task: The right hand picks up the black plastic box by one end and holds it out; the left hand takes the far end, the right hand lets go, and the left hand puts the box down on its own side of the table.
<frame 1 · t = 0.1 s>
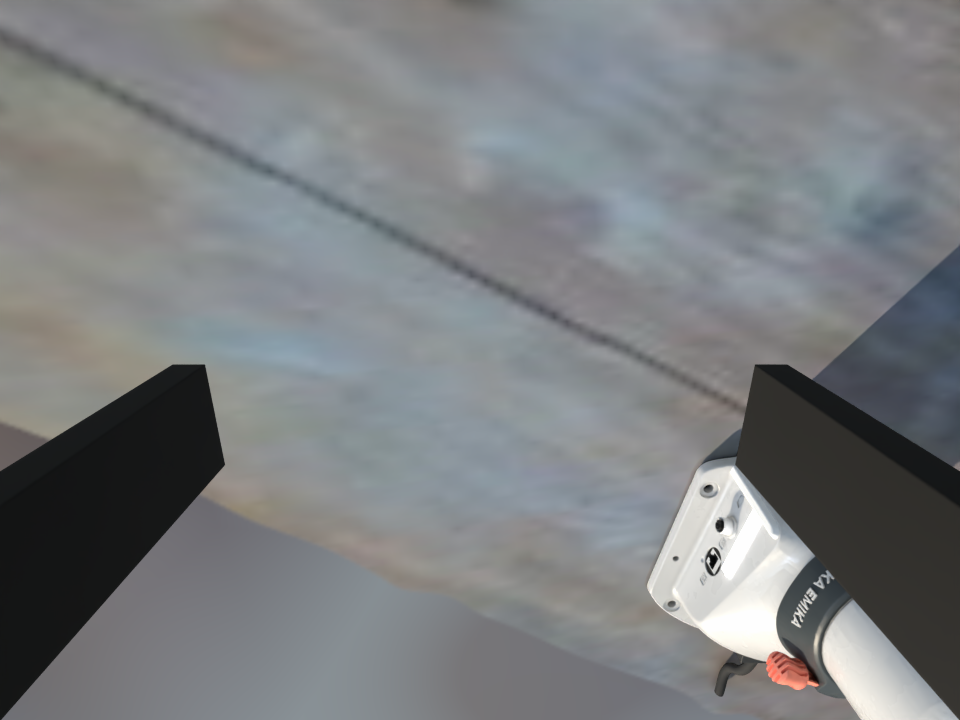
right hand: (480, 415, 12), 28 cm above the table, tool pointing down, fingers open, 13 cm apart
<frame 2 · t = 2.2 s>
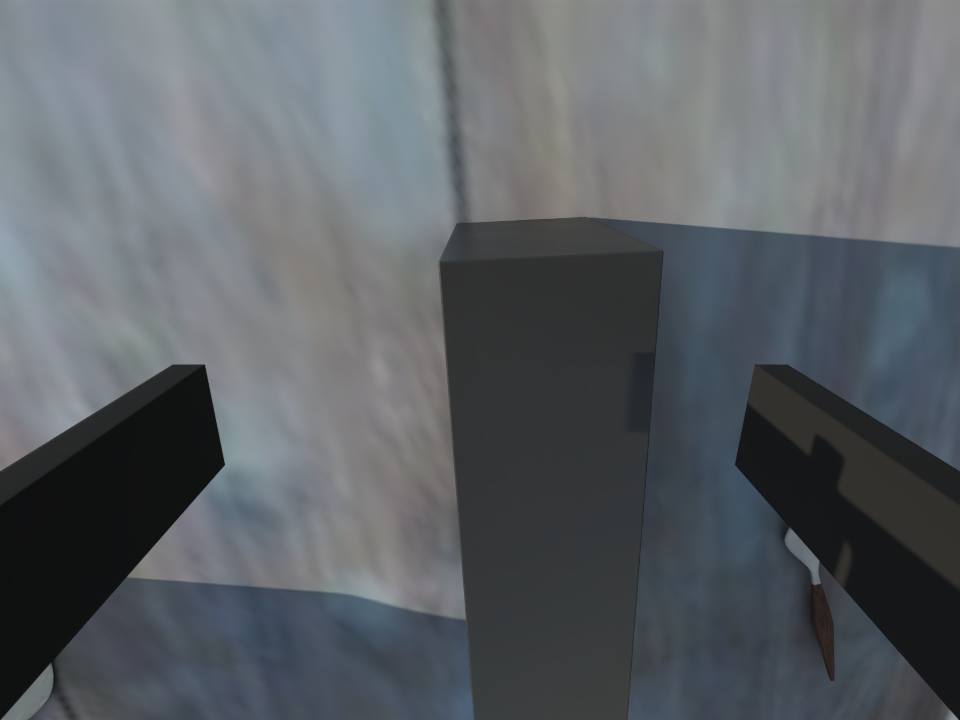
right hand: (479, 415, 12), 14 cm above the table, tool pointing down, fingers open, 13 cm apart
fork: (811, 587, 33), on the table
box: (526, 455, 29), on the table
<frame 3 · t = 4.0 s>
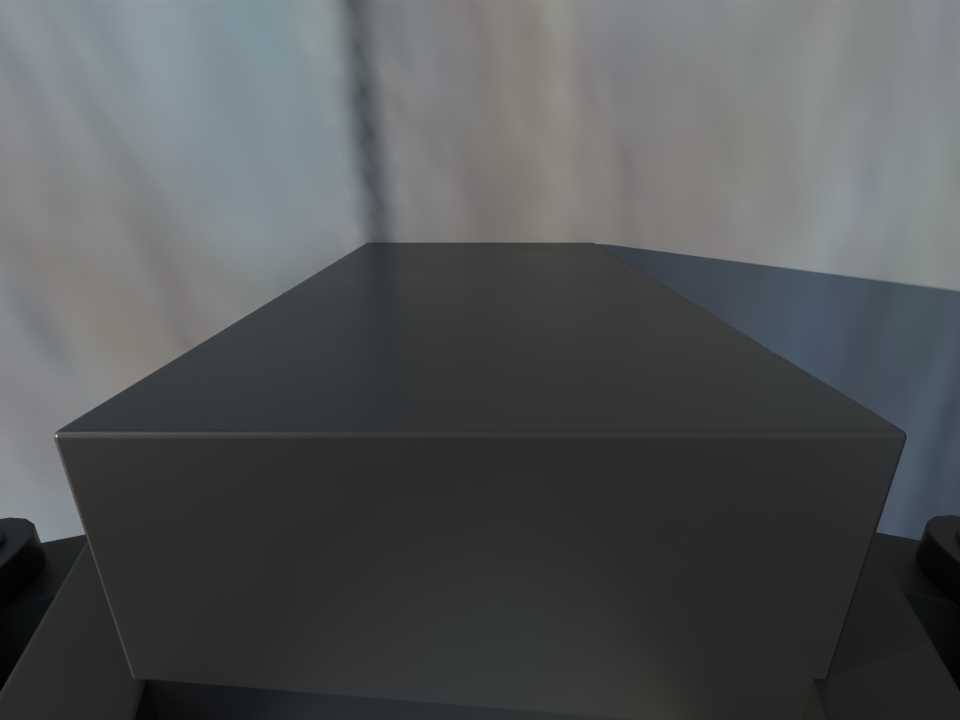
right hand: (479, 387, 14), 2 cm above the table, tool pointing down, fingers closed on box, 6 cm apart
box: (480, 607, 19), on the table, touching right hand
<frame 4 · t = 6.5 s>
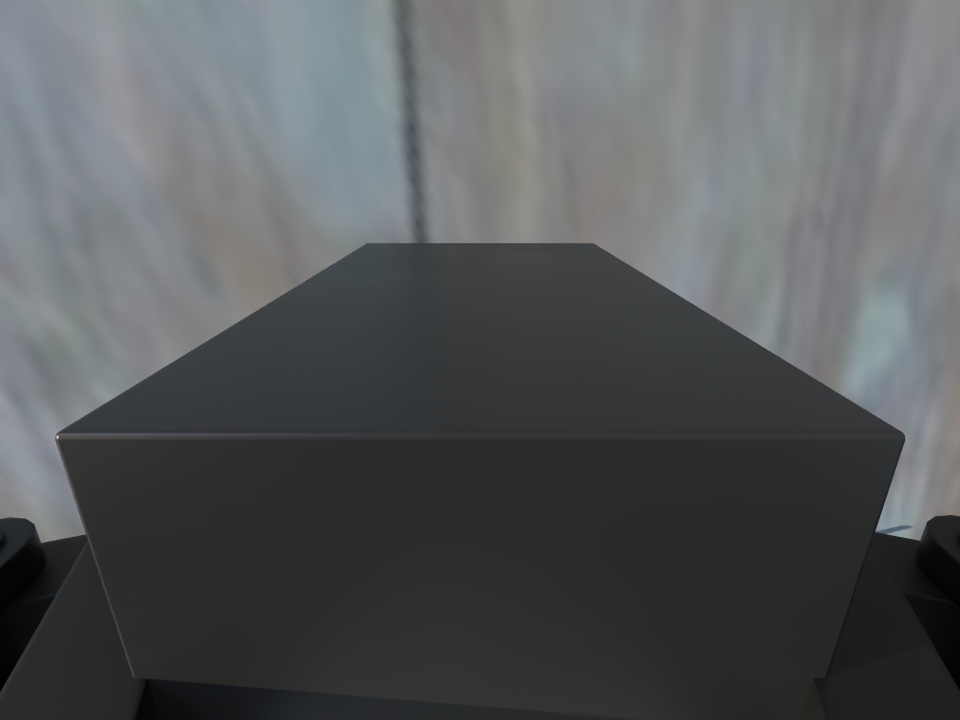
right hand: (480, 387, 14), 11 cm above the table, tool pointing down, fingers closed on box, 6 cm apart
box: (480, 607, 19), point 9 cm above the table, touching right hand
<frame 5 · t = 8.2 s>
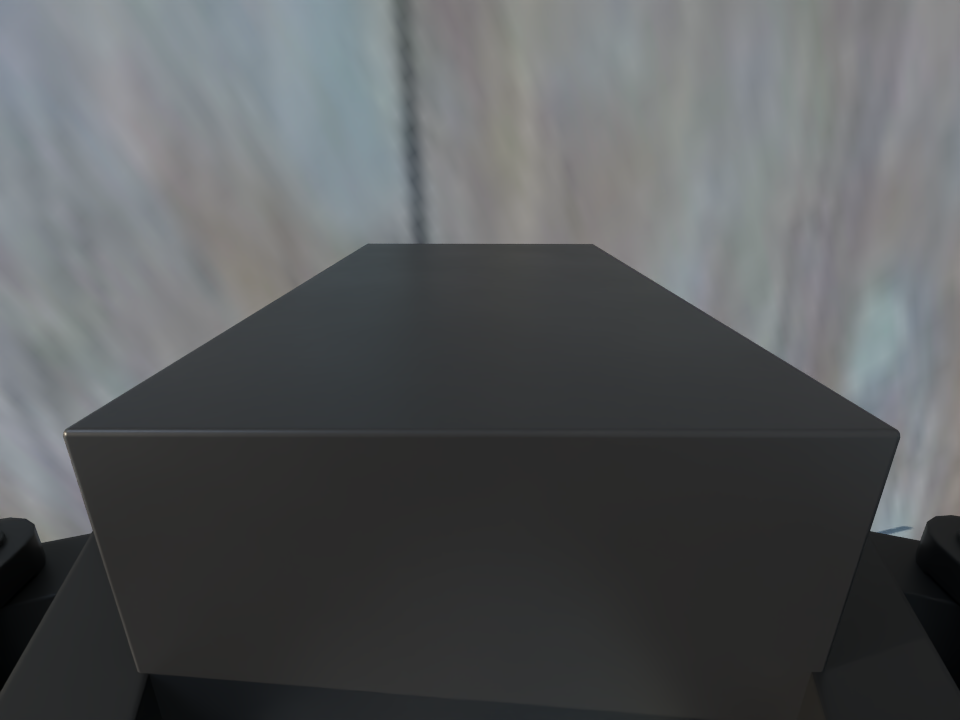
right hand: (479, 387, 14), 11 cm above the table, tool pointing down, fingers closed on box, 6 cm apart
box: (479, 607, 19), point 9 cm above the table, touching right hand, left hand
when the right hand's fingers open (11 cm above the table, at t = 9.1 s): box stays where it is, held by the left hand.
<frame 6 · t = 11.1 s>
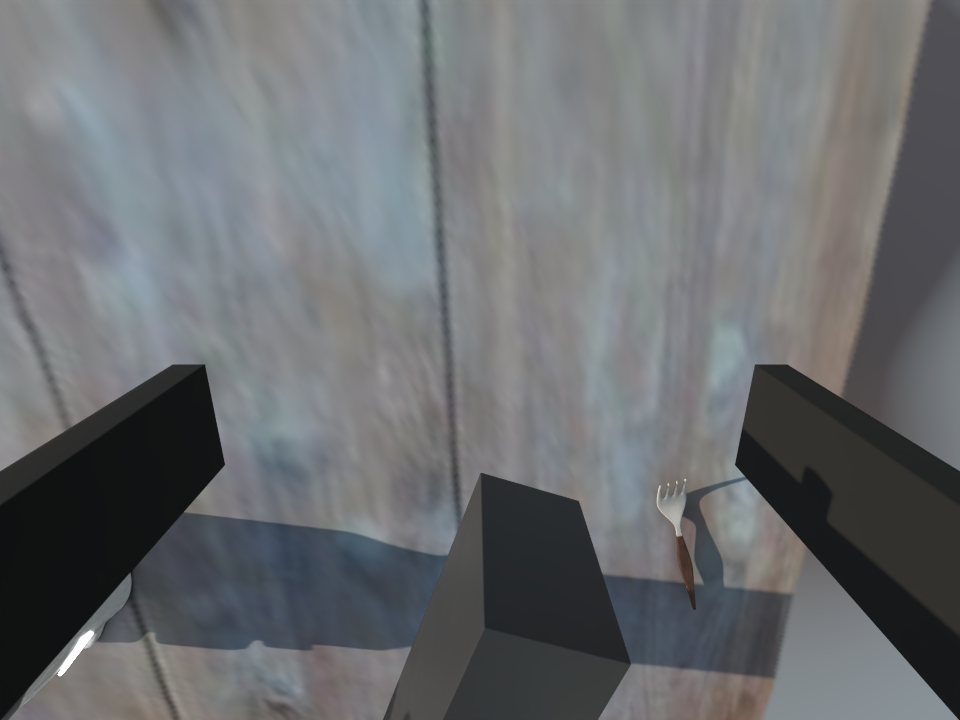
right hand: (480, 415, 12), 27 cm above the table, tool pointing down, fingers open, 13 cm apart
fork: (678, 539, 47), on the table
box: (462, 641, 35), point 12 cm above the table, touching left hand
when the left hand's fingers open (8 cm above the table, at t = 14.4 s): box stays where it is, on the table.
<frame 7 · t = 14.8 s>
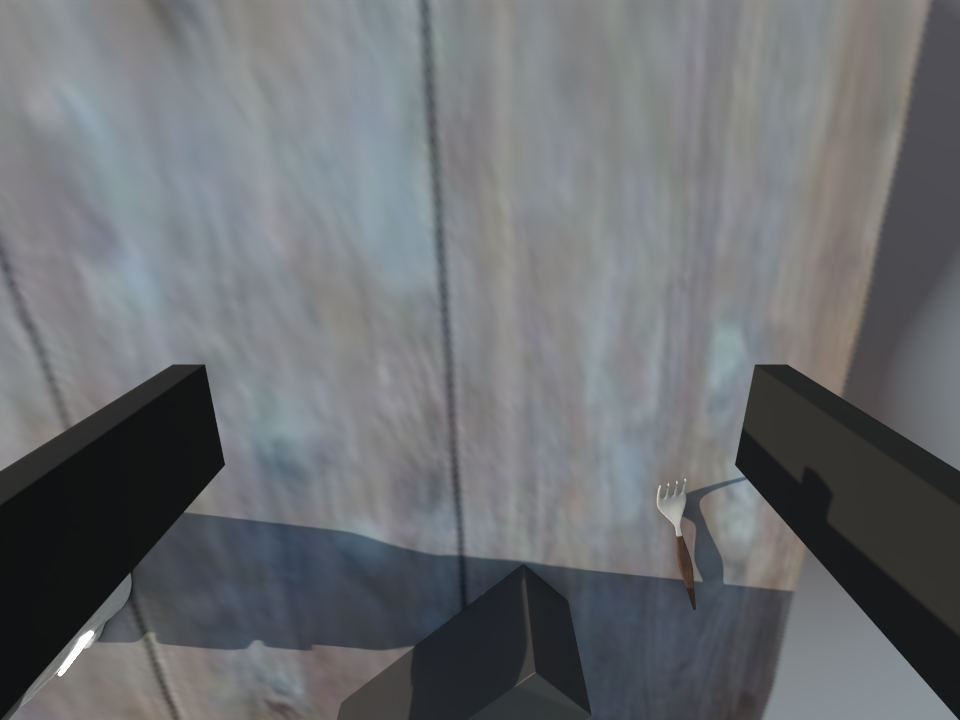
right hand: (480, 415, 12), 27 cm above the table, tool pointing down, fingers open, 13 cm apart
fork: (678, 539, 47), on the table
box: (449, 654, 52), on the table
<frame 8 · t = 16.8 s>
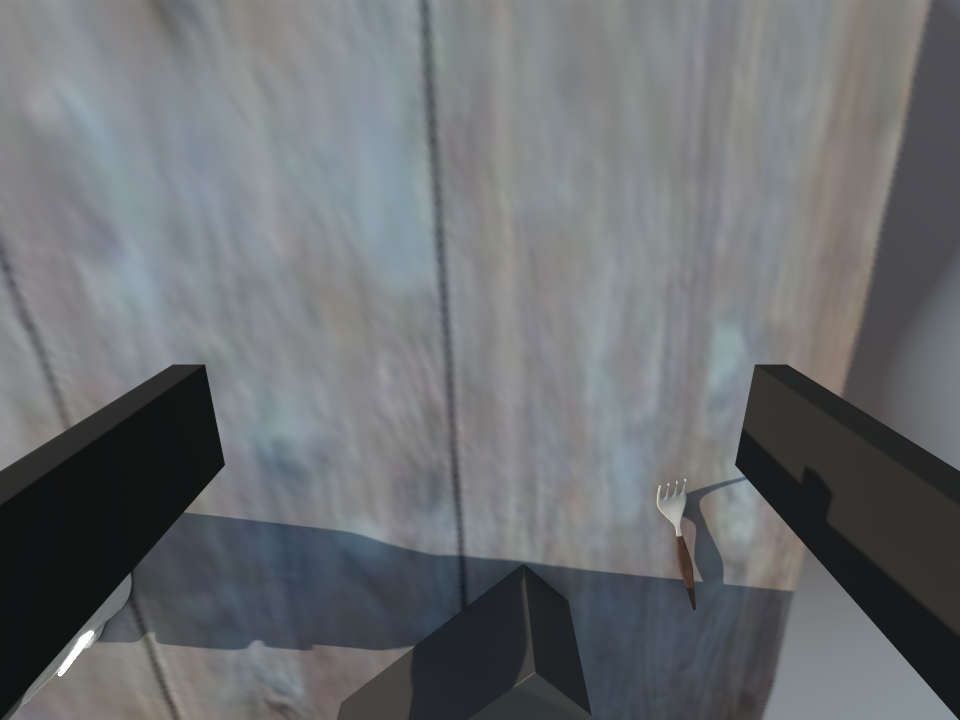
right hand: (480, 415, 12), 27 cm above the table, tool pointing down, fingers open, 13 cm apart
fork: (678, 539, 47), on the table
box: (449, 654, 52), on the table
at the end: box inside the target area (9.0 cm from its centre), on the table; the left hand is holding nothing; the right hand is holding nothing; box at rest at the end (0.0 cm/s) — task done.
